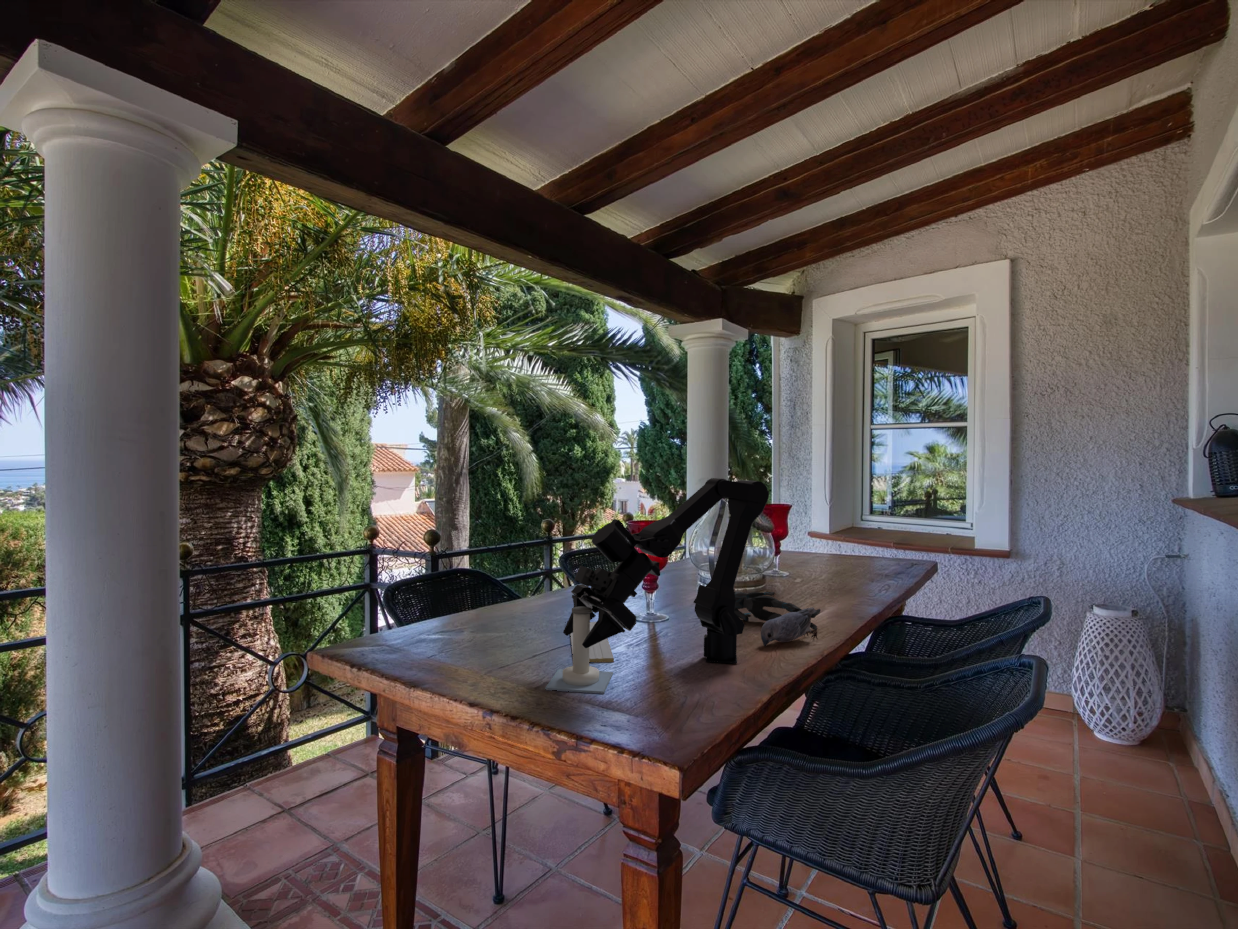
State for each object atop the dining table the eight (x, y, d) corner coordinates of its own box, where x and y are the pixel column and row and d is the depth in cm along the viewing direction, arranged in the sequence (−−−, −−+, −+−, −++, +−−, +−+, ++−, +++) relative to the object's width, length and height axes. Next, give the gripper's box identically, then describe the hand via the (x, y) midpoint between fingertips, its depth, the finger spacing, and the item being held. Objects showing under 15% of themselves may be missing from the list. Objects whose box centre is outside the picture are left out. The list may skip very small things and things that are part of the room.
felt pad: (612, 673, 131) (612, 671, 131) (604, 693, 120) (604, 691, 120) (558, 670, 132) (558, 668, 132) (545, 690, 121) (545, 688, 121)
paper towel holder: (605, 677, 128) (606, 607, 127) (587, 688, 121) (588, 614, 121) (574, 671, 131) (575, 603, 131) (555, 681, 125) (556, 610, 125)
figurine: (816, 601, 163) (706, 577, 179) (809, 637, 161) (699, 610, 177) (826, 604, 172) (721, 581, 188) (820, 638, 170) (714, 612, 187)
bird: (754, 644, 153) (755, 612, 153) (804, 635, 161) (804, 605, 161) (771, 650, 148) (771, 617, 148) (821, 641, 157) (821, 609, 156)
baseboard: (566, 666, 137) (613, 665, 139) (566, 652, 137) (614, 651, 138) (563, 627, 167) (602, 627, 169) (563, 616, 167) (602, 616, 168)
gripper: (580, 544, 136) (529, 603, 131) (622, 558, 119) (565, 625, 114) (614, 579, 140) (565, 637, 135) (659, 597, 123) (605, 664, 118)
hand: (574, 640), depth 125 cm, fingers open, 9 cm apart
